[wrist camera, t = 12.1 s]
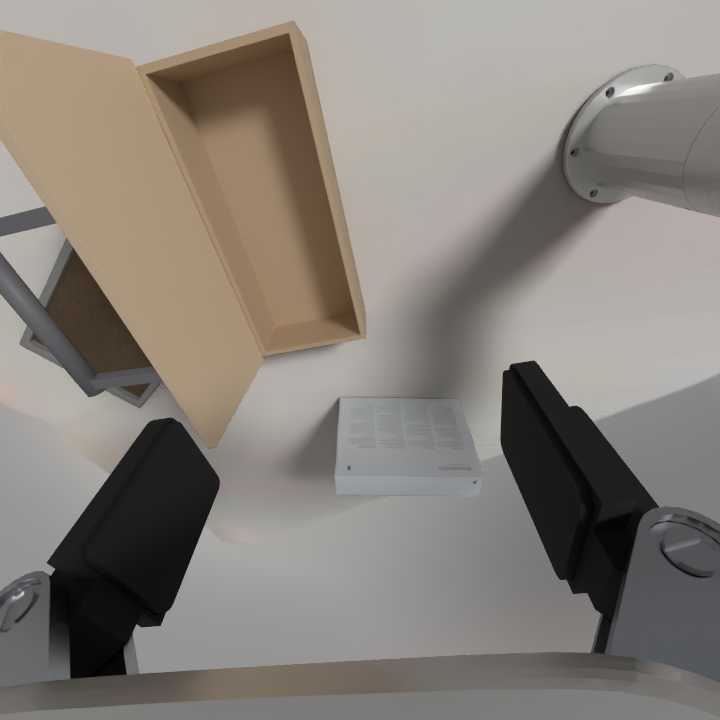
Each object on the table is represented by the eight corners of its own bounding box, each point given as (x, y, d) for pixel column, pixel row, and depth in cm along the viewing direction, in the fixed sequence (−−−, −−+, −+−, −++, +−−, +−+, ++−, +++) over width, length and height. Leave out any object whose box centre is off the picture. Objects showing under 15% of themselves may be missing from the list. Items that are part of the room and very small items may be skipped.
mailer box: (306, 40, 33) (293, 20, 27) (365, 311, 50) (366, 338, 44) (175, 77, 35) (135, 67, 29) (274, 328, 52) (262, 356, 45)
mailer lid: (-75, 13, 16) (-204, 66, 18) (214, 450, 33) (134, 456, 35) (131, 59, 28) (43, 88, 30) (263, 359, 46) (203, 367, 47)
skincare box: (339, 418, 62) (333, 496, 49) (338, 396, 59) (332, 472, 46) (454, 420, 63) (479, 499, 49) (459, 398, 59) (487, 475, 46)
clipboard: (220, 305, 48) (133, 416, 61) (224, 300, 50) (138, 410, 62) (80, 204, 41) (13, 354, 53) (89, 202, 42) (21, 349, 55)
